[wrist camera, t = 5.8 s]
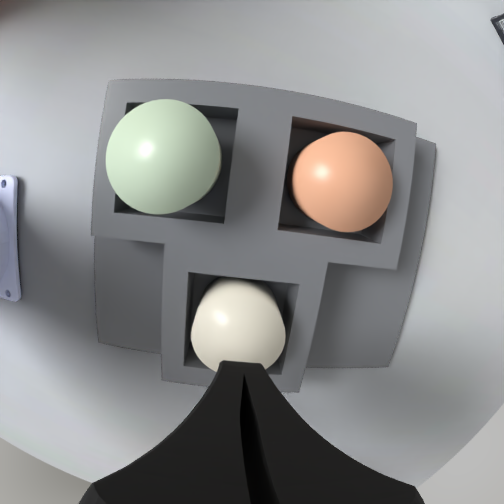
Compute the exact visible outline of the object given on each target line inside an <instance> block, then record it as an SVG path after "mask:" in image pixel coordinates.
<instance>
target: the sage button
mask: <svg viewBox="0 0 504 504" xmlns="http://www.w3.org/2000/svg"><path fill="white" fill-rule="evenodd" d="M221 168H222V151H221V146H220V144H219V141H218V139H217V137H216V134H215V132H214V130H213V128H212V126H211V124H210V123H209V121H208V120H207V119H206V117H205V116H204V115H203V114H202V113H201V112H200V111H198V110H197V109H196V108H194V107H192V106H191V105H189V104H187V103H184V102H181V101H177V100H171V99H159V100H153V101H150V102H146V103H144V104H142V105H139V106H138V107H136V108H134V109H133V110H131V111H130V112H129V113H127V114H126V115H125V116H124V117H123V118H122V119H121V120H120V122H119V123H118V124H117V126H116V127H115V129H114V131H113V132H112V135H111V137H110V139H109V142H108V145H107V151H106V170H107V175H108V178H109V181H110V183H111V185H112V187H113V189H114V191H115V192H116V194H117V195H118V196H119V197H120V198H121V199H122V200H123V201H124V202H125V203H126V204H128V205H129V206H131V207H132V208H134V209H136V210H138V211H141V212H144V213H149V214H168V213H173V212H176V211H179V210H181V209H183V208H185V207H187V206H189V205H191V204H193V203H195V202H197V201H198V200H200V199H202V198H203V197H204V196H205V195H207V194H208V193H209V192H210V190H211V189H212V188H213V187H214V185H215V184H216V182H217V180H218V178H219V175H220V172H221Z"/></svg>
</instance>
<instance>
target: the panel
mask: <svg viewBox="0 0 504 504" xmlns="http://www.w3.org/2000/svg"><path fill="white" fill-rule="evenodd" d="M159 99H171V100H177V101H181V102H184V103H187V104H189V105H191V106H192V107H194V108H196V109H197V110H198V111H200V112H201V113H202V114H203V115H204V116H205V117H206V119H207V120H208V121H209V123H210V124H211V126H212V128H213V130H214V132H215V134H216V137H217V139H218V141H219V144H220V146H221V151H222V168H221V172H220V175H219V178H218V180H217V182H216V184H215V185H214V187H213V188H212V189H211V190H210V192H209V193H208V194H207V195H205V196H204V197H203V198H202V199H200V200H198V201H197V202H195V203H193V204H191V205H189V206H187V207H185V208H183V209H181V210H179V211H176V212H173V213H168V214H149V213H144V212H141V211H138V210H136V209H134V208H132V207H131V206H129V205H128V204H126V203H125V202H124V201H123V200H122V199H121V198H120V197H119V196H118V195H117V194H116V192H115V191H114V189H113V187H112V185H111V183H110V181H109V178H108V175H107V170H106V151H107V145H108V142H109V139H110V137H111V135H112V132H113V131H114V129H115V127H116V126H117V124H118V123H119V122H120V120H121V119H122V118H123V117H124V116H125V115H126V114H127V113H129V112H130V111H131V110H133V109H134V108H136V107H138V106H139V105H142V104H144V103H146V102H150V101H153V100H159ZM416 131H417V123H414V122H411V121H408V120H405V119H402V118H399V117H396V116H393V115H390V114H386V113H383V112H379V111H376V110H372V109H369V108H365V107H361V106H358V105H354V104H350V103H346V102H341V101H337V100H333V99H328V98H324V97H319V96H314V95H309V94H304V93H299V92H293V91H287V90H281V89H275V88H268V87H261V86H254V85H245V84H237V83H227V82H215V81H201V80H182V79H118V80H109V82H108V87H107V92H106V97H105V102H104V108H103V114H102V120H101V126H100V133H99V140H98V148H97V156H96V165H95V175H94V187H93V201H92V221H91V235H92V236H95V238H94V274H95V302H96V318H97V331H98V342H99V343H103V344H108V345H113V346H118V347H123V348H129V349H134V350H140V351H146V352H152V353H158V354H161V370H162V380H163V381H169V382H176V383H183V384H190V385H198V386H207V387H209V386H210V384H211V382H212V381H213V379H214V377H215V375H216V372H215V371H213V370H212V369H210V368H209V367H207V366H206V365H205V364H204V363H203V362H202V361H201V360H200V359H199V358H198V356H197V355H196V353H195V351H194V348H193V345H192V341H191V331H192V326H193V322H194V319H195V315H196V312H197V308H198V305H199V302H200V298H201V296H202V294H203V292H204V290H205V289H206V288H207V286H208V285H209V284H210V283H212V282H213V281H214V280H216V279H217V278H219V277H221V276H228V277H237V278H246V279H256V280H261V281H263V282H264V283H265V284H266V285H267V286H268V287H269V288H270V289H271V291H272V292H273V294H274V296H275V299H276V302H277V305H278V308H279V311H280V315H281V318H282V321H283V324H284V327H285V335H286V338H285V344H284V348H283V350H282V352H281V354H280V356H279V357H278V359H277V360H276V361H275V362H274V363H273V364H272V365H271V366H270V367H268V368H267V369H265V370H266V371H267V373H268V375H269V376H270V378H271V379H272V381H273V382H274V384H275V385H276V387H277V388H278V390H279V391H280V392H299V390H300V387H301V383H302V379H303V375H304V371H305V367H312V368H373V367H388V366H389V363H390V360H391V357H392V354H393V351H394V348H395V345H396V342H397V339H398V336H399V333H400V330H401V327H402V323H403V320H404V317H405V313H406V310H407V306H408V303H409V299H410V295H411V291H412V288H413V284H414V280H415V275H416V271H417V267H418V262H419V258H420V253H421V248H422V243H423V238H424V233H425V228H426V222H427V216H428V210H429V203H430V196H431V189H432V181H433V172H434V162H435V151H436V143H433V142H430V141H427V140H424V139H421V138H418V137H416ZM336 132H352V133H357V134H360V135H362V136H364V137H366V138H368V139H370V140H371V141H372V142H374V143H375V144H376V145H377V146H378V147H379V148H380V149H381V150H382V152H383V153H384V155H385V156H386V158H387V160H388V162H389V165H390V168H391V172H392V178H393V189H392V195H391V199H390V202H389V204H388V206H387V208H386V210H385V212H384V213H383V214H382V216H381V217H380V218H379V219H378V220H377V221H376V222H375V223H373V224H372V225H371V226H369V227H367V228H365V229H362V230H359V231H355V232H340V231H335V230H332V229H330V228H328V227H326V226H324V225H322V224H320V223H318V222H316V221H315V220H313V219H311V218H309V217H307V216H306V215H304V214H303V213H302V212H300V211H299V210H298V208H297V207H296V206H295V205H294V203H293V202H292V200H291V198H290V195H289V192H288V188H287V173H288V168H289V165H290V163H291V161H292V159H293V158H294V156H295V155H296V154H297V152H298V151H299V150H301V149H302V148H303V147H305V146H306V145H308V144H310V143H312V142H314V141H316V140H318V139H320V138H322V137H325V136H327V135H329V134H332V133H336Z"/></svg>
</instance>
